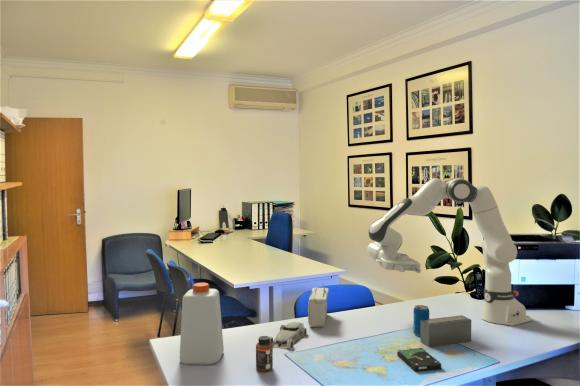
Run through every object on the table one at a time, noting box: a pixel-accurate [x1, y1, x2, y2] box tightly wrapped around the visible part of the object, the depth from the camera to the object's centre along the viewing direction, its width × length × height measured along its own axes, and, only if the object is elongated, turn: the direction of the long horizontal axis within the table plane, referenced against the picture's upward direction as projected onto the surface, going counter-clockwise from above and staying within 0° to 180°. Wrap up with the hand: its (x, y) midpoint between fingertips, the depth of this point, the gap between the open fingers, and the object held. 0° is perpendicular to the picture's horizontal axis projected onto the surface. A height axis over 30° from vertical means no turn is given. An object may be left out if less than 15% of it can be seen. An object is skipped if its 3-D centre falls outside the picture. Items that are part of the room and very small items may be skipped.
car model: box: [269, 321, 308, 350], centre depth 193 cm, size 11×24×5 cm, turn 159°
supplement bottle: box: [255, 335, 274, 373], centre depth 163 cm, size 6×6×11 cm
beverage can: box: [412, 304, 430, 337], centre depth 196 cm, size 6×6×12 cm
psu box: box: [419, 314, 472, 348], centre depth 188 cm, size 20×6×9 cm, turn 107°
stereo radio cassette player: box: [307, 284, 330, 328], centre depth 215 cm, size 21×8×20 cm, turn 172°
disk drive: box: [396, 347, 442, 373], centre depth 168 cm, size 10×3×15 cm
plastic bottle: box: [179, 282, 225, 366], centre depth 173 cm, size 15×15×28 cm
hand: (411, 270), depth 204 cm, fingers open, 8 cm apart
